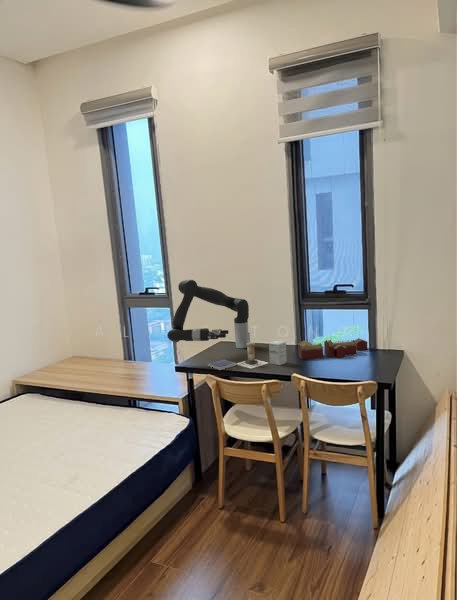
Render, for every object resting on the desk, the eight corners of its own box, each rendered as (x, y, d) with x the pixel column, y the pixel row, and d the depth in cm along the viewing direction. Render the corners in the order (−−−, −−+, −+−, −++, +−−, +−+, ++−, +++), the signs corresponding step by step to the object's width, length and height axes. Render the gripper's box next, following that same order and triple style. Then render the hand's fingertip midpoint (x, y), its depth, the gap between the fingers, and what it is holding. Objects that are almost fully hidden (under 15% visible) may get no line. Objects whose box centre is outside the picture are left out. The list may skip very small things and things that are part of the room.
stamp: (251, 361, 271) (250, 341, 269) (257, 363, 267) (256, 343, 265) (245, 363, 267) (244, 343, 266) (251, 365, 263) (250, 344, 262)
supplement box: (269, 363, 265) (268, 342, 264) (277, 360, 270) (276, 340, 269) (279, 365, 260) (278, 344, 258) (287, 362, 265) (286, 341, 263)
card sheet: (252, 359, 277) (252, 358, 277) (268, 363, 266) (268, 362, 266) (235, 364, 268) (235, 363, 268) (251, 368, 257) (250, 368, 257)
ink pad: (223, 361, 275) (223, 359, 275) (236, 365, 266) (235, 362, 266) (207, 366, 268) (207, 363, 268) (220, 370, 258) (220, 367, 258)
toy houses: (302, 361, 266) (302, 344, 265) (294, 352, 287) (294, 337, 285) (376, 355, 270) (376, 338, 268) (363, 346, 290) (363, 331, 288)
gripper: (197, 331, 264) (224, 330, 261) (202, 326, 278) (228, 324, 275) (198, 344, 265) (225, 343, 262) (204, 337, 279) (229, 336, 276)
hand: (227, 333), depth 268 cm, fingers open, 8 cm apart
